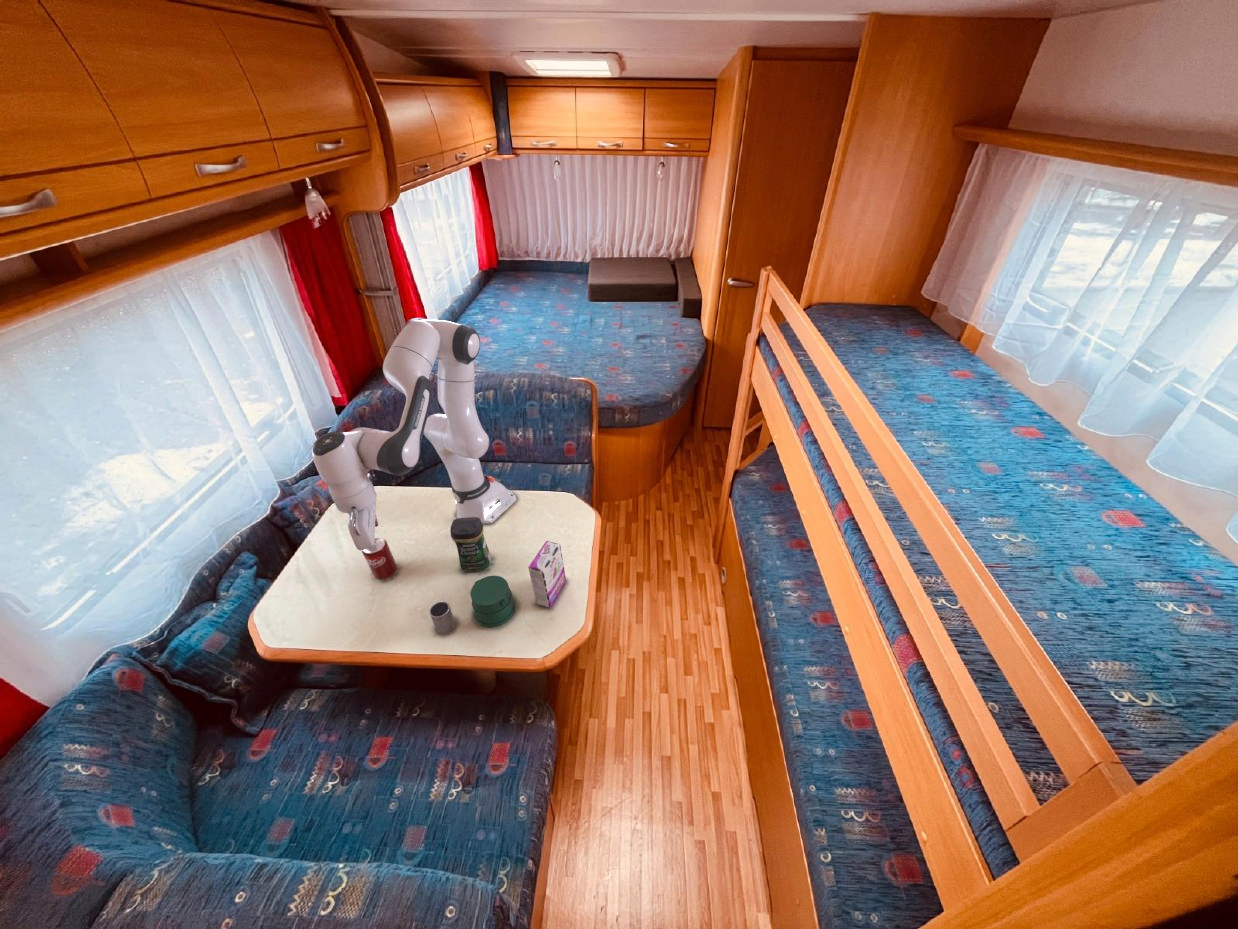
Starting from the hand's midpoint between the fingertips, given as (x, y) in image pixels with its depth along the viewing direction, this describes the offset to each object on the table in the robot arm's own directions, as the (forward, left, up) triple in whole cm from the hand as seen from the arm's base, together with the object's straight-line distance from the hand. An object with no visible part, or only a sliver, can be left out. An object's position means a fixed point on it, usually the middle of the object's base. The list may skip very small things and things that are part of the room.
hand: (374, 537), depth 121 cm
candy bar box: (-31, +28, -31) cm, 52 cm away
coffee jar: (-24, +1, -31) cm, 39 cm away
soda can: (-4, -20, -31) cm, 37 cm away
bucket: (-16, +20, -31) cm, 40 cm away
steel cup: (-4, +13, -31) cm, 33 cm away
